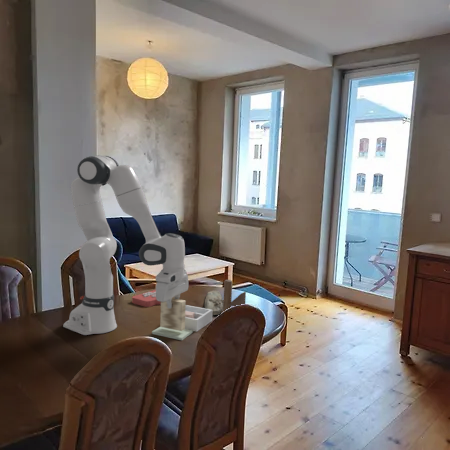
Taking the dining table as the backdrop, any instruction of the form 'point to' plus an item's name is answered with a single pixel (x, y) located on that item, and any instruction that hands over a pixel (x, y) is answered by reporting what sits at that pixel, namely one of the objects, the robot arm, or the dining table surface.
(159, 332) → the sage pad
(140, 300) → the plaque
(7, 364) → the dining table surface
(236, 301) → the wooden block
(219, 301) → the elongated rock
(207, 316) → the white open box
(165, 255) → the robot arm
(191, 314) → the upper offcut
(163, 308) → the birch board
